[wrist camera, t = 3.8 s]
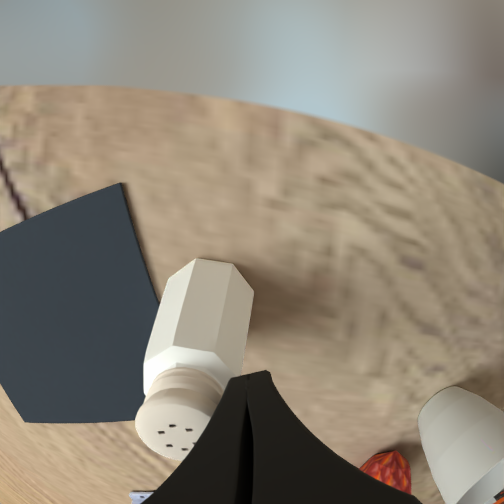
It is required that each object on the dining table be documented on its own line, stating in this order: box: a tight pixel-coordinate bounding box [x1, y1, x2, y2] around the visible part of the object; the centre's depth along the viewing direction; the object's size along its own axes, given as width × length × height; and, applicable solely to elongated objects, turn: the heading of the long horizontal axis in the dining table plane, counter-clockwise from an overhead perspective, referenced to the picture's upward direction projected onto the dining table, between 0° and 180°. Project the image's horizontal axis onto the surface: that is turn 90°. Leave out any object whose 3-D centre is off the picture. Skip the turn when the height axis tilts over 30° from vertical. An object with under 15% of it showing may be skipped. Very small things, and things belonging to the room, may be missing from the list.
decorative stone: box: [359, 451, 411, 494], centre depth 21 cm, size 6×7×8 cm
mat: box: [0, 183, 160, 423], centre depth 19 cm, size 18×16×1 cm
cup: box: [418, 386, 504, 504], centre depth 18 cm, size 8×8×10 cm
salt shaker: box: [135, 258, 254, 461], centre depth 13 cm, size 5×5×11 cm
